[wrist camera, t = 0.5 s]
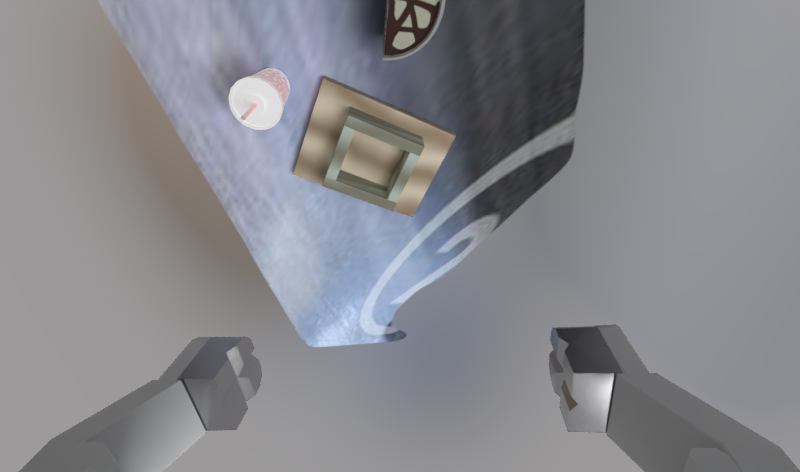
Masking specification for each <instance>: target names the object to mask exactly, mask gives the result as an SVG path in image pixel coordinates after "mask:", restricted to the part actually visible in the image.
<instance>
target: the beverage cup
mask: <svg viewBox="0 0 800 472" xmlns="http://www.w3.org/2000/svg"><path fill="white" fill-rule="evenodd" d="M289 93H290V83H289V81H288V79H287V77H286V76H285V75H284V74H283V73H282V72H281V71H279V70H277V69H275V68H267V69H264V70H262V71H260V72H258V73H256V74H254V75H252V76H247V77H245V78H242V79H240V80H238V81H237V82H236V83H235V84H234V85H233V86H232V87H231V89H230V93H229V97H228V99H229V104H230V109H231V111H232V112H233V114H234V116H235V117H236V119H238V120H239V121H240V122H241V123H242V124H243V125H245V126H247V127H249V128H252V129H255V130H266V129H268V128H271V127H273V126H274V125H275V124H276V123H277V122H278V121H279V120H280V118H281V115H282V112H283V107H284V104H285V102H286V100H287V98H288V96H289Z"/></svg>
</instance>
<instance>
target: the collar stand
mask: <svg viewBox="0 0 800 472" xmlns="http://www.w3.org/2000/svg"><path fill="white" fill-rule="evenodd" d="M455 137H456V135H455V133H454V132H452V131H450V130H447V129H445V128H443V127H440V126H438V125H436V124H434V123H431V122H429V121H427V120H424V119H422V118H420V117H417V116H415V115H413V114H411V113H408V112H406V111H404V110H401V109H399V108H397V107H395V106H392V105H390V104H388V103H385V102H383V101H381V100H379V99H376V98H374V97H372V96H369V95H367V94H365V93H362V92H360V91H358V90H356V89H353V88H351V87H349V86H346V85H344V84H342V83H340V82H337V81H335V80H333V79H330V78H328V77H326V76H324V78H323V81H322V84H321V87H320V90H319V93H318V97H317V100H316V103H315V106H314V109H313V112H312V116H311V119H310V122H309V125H308V128H307V132H306V135H305V138H304V141H303V144H302V147H301V151H300V154H299V157H298V160H297V163H296V167H295V170H294V173H293V174H294V175H296V176H299V177H302V178H305V179H308V180H310V181H313V182H316V183H319V184H321V185H322V186H325V187H327V188H330V189H333V190H336V191H338V192H341V193H344V194H347V195H350V196H352V197H355V198H358V199H361V200H364V201H366V202H369V203H372V204H375V205H377V206H380V207H383V208H386V209H389V210H391V211H393V210H394V211H397V212H399V213H402V214H405V215H408V216H410V217H413V215H414V213H415V211H416V210H417V208H418V206H419V204H420V202H421V200H422V198H423V196H424V195H425V193H426V191H427V189H428V187H429V185H430V183H431V182H432V180H433V178H434V176H435V174H436V172H437V170H438V168H439V167H440V165H441V163H442V161H443V159H444V157H445V155H446V153H447V152H448V150H449V148H450V146H451V144H452V142H453V140H454V139H455Z"/></svg>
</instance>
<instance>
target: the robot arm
mask: <svg viewBox="0 0 800 472" xmlns="http://www.w3.org/2000/svg"><path fill="white" fill-rule="evenodd" d="M550 341H551V344H552V346H553V349H554V350H553V351H552V352H551V353H550V356H549V368H550V376H551V381H552V385H553V388H554V392H555V393H556V394H557V395H559V396H560V410H561V413H562V415H563V419H564V421H565V424H566V427H567V430H568V432H597V433H607V436H608V437H610V438H611V439H612V440H613V441H614V442H615V443H616V444H617V445H618V446H619V447H620V448H621V449H622V450H623V451H624V452H625V453H626V454H627V455H628V456H629V457H630V458H631V459H632V460H633V461H634V462H635V463H636V464H637V465H638V466H639V467H640V468H642V469H643V470H644V471H645V472H800V470H799V469H798V468H797V467H796V466H795V464H794V463H793V462H792V461H791V459H790V458H789V457H788V456H787V455H786V454H785V452H784V451H783V450H782V449H781V448H780V447H779V446H777V445H775V444H774V443H772V442H770V441H769V440H767V439H765V438H764V437H762V436H760V435H759V434H757V433H755V432H754V431H752V430H750V429H749V428H747V427H745V426H743V425H742V424H740V423H739V422H737V421H735V420H734V419H732V418H730V417H729V416H727V415H725V414H724V413H722V412H720V411H719V410H717V409H715V408H713V407H712V406H710V405H709V404H707V403H705V402H704V401H702V400H700V399H699V398H697V397H695V396H694V395H692V394H690V393H689V392H687V391H685V390H684V389H682V388H680V387H679V386H677V385H675V384H674V383H672V382H670V381H669V380H667V379H665V378H664V377H662V376H660V375H659V374H657V373H649V371H648V370H647V368H646V367H645V365H644V364H643V362H642V361H641V359H640V358H639V356H638V354H637V353H636V352H635V350H634V348H633V347H632V345H631V344H630V342H629V341H628V340H627V338H626V336H625V335H624V333H623V332H622V330H621V328H620V327H619V326H617V325H599V326H589V327H588V326H586V327H558V328H552V331H551V338H550ZM253 350H254V346H253V343H252V341H251V339H250V338H247V337H198V338H196V339H194V340H192V341H191V342H190V343H189V344H188V346H187V347H186V348H185V349H184V350H183V351H182V353H181V354H180V355H179V356H178V357H177V359H175V361H174V362H173V363H172V364H171V366H169V368H168V369H167V370H166V371H165V372H164V373H163V375H162V376H161V377H160V378H159V379H158V380H152V381H150V382H149V383H147V384H146V385H144V386H142V387H140V388H138V389H137V390H135V391H133V392H132V393H130V394H128V395H126V396H125V397H123V398H121V399H120V400H118V401H116V402H115V403H113V404H111V405H109V406H108V407H106V408H104V409H103V410H101V411H100V412H97V413H96V414H94V415H92V416H91V417H89V418H87V419H85V420H84V421H82V422H80V423H79V424H77V425H75V426H73V427H72V428H70V429H68V430H67V431H65V432H63V433H62V434H60V435H58V436H56V437H55V438H53V439H51V440H50V441H49V442H48V443H47V444H46V445H45V446H44V447H43V448H42V449H41V450H40V451H39V452H38V453H37V454H36V455H35V456H34V457H33V458H32V459H31V460H30V461H29V462H28V463H27V464H26V465H25V466H24V467H23V468H22V469H21V470H20V471H19V472H163V471H164V470H165V469H166V468H167V467H168V466H169V465H170V464H172V463H173V462H174V461H175V460H176V459H177V458H178V457H179V456H180V455H182V454H183V453H184V452H185V451H186V450H187V449H188V448H189V447H191V446H192V445H193V444H194V443H195V442H196V441H197V440H198V439H199V438H201V437H202V436H203V435H204V434H205V433H206V431H207V430H208V431H209V430H210V431H211V430H236V429H237V428H238V425H239V424H240V422H241V420H242V418H243V417H244V415H245V413H246V411H247V409H248V407H247V402H246V401H248V400H249V399H250V398H252V397H253V396H254V395H255V394H256V392H257V390H258V388H259V386H260V381H261V377H262V372H261V365H260V362H259V360H258V359H256V358H255V357H254V356H253V355H252V352H253Z"/></svg>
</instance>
